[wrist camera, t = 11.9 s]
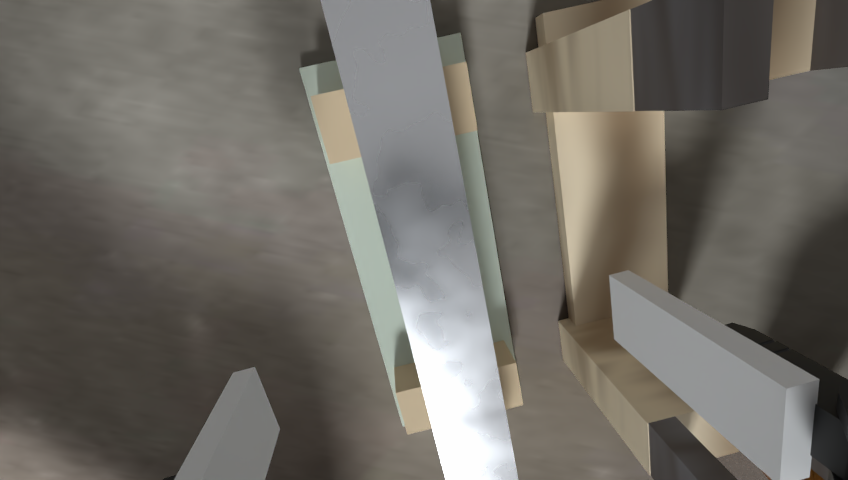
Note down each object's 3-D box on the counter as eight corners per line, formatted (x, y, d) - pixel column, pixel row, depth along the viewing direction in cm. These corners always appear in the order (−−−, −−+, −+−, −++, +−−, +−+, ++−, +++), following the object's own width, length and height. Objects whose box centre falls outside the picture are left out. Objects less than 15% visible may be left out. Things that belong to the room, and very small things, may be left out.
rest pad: (402, 419, 27) (404, 456, 24) (301, 69, 20) (288, 62, 17) (518, 390, 27) (534, 422, 24) (458, 34, 20) (471, 21, 17)
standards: (565, 378, 27) (710, 583, 15) (521, 20, 20) (724, -112, 8) (669, 351, 27) (890, 533, 16) (661, -11, 20) (1050, -181, 9)
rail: (444, 459, 24) (456, 523, 20) (333, 24, 17) (319, -2, 13) (500, 444, 24) (523, 505, 21) (415, 6, 17) (425, -25, 13)
